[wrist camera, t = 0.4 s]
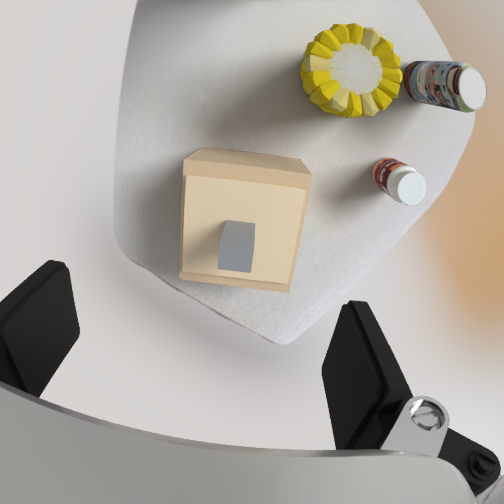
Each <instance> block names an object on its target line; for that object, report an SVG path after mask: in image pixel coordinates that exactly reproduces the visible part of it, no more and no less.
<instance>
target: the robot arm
mask: <svg viewBox="0 0 504 504" xmlns="http://www.w3.org/2000/svg"><path fill="white" fill-rule="evenodd" d="M79 334H80V327H79V323H78V318H77V313H76V309H75V303H74V297H73V291H72V285H71V279H70V272H69V269H68V268H67V267H66V265H65V263H63V262H59V261H54V260H49V261H47V262H46V263H45V264H44V265H42V266H41V267H40V268H39V269H37V270H36V271H35V272H34V273H33V274H31V275H30V276H29V277H28V278H27V279H26V280H24V281H23V282H22V283H21V284H20V285H19V286H18V287H16V288H15V289H14V290H13V291H12V292H11V293H10V294H9V295H8V296H6V297H5V298H4V299H3V300H2V301H1V302H0V504H504V475H502V476H501V475H500V470H501V467H500V463H499V460H498V458H497V456H496V455H495V454H494V453H493V452H492V451H490V450H489V449H487V448H485V447H483V446H482V445H479V444H478V443H476V442H474V441H472V440H470V439H468V438H466V437H465V436H463V435H461V434H459V433H457V432H455V431H454V430H452V429H450V428H448V426H449V415H448V412H447V410H446V409H445V407H444V406H443V405H442V404H441V403H440V402H438V401H436V400H435V399H433V398H430V397H427V396H417V397H413V395H412V393H411V391H410V389H409V386H408V384H407V382H406V380H405V377H404V375H403V373H402V371H401V369H400V367H399V364H398V362H397V360H396V358H395V356H394V354H393V352H392V350H391V348H390V346H389V344H388V342H387V340H386V338H385V336H384V334H383V332H382V330H381V328H380V326H379V324H378V322H377V320H376V318H375V316H374V314H373V312H372V310H371V309H370V307H369V305H368V303H367V302H364V301H352V300H350V301H349V302H348V304H344V305H343V306H342V308H341V311H340V314H339V317H338V321H337V324H336V327H335V330H334V333H333V336H332V339H331V342H330V345H329V348H328V350H327V353H326V356H325V359H324V362H323V365H322V378H323V383H324V388H325V393H326V398H327V403H328V408H329V414H330V419H331V424H332V429H333V435H334V441H335V446H336V450H289V449H267V448H253V447H242V446H232V445H222V444H215V443H208V442H201V441H195V440H188V439H183V438H177V437H172V436H166V435H161V434H157V433H152V432H147V431H143V430H139V429H134V428H131V427H126V426H123V425H119V424H115V423H111V422H108V421H105V420H101V419H98V418H94V417H91V416H88V415H85V414H82V413H79V412H76V411H73V410H70V409H67V408H64V407H61V406H59V405H56V404H53V403H51V402H48V401H45V400H43V399H40V398H39V397H40V395H41V394H42V392H43V390H44V389H45V387H46V386H47V384H48V383H49V381H50V379H51V378H52V376H53V375H54V373H55V372H56V370H57V369H58V367H59V365H60V364H61V363H62V361H63V360H64V358H65V357H66V355H67V354H68V352H69V351H70V349H71V348H72V346H73V345H74V344H75V342H76V341H77V339H78V337H79Z"/></svg>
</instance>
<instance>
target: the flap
mask: <svg viewBox="0 0 504 504" xmlns="http://www.w3.org/2000/svg"><path fill="white" fill-rule="evenodd" d="M304 195H305V188H298V187H291V186H284V185H277V184H270V183H262V182H254V181H246V180H237V179H228V178H219V177H209V176H199V175H188V174H187V175H186V187H185V206H184V229H183V266H182V271H185V272H193V273H200V274H208V275H216V276H224V277H232V278H241V279H249V280H257V281H266V282H275V283H284V284H288V279H289V274H290V269H291V264H292V259H293V254H294V249H295V244H296V239H297V234H298V228H299V223H300V218H301V212H302V207H303V201H304Z"/></svg>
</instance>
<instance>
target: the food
mask: <svg viewBox="0 0 504 504" xmlns="http://www.w3.org/2000/svg"><path fill="white" fill-rule="evenodd" d="M381 35H382V34H381V33H379V32H378V31H377V30H375V29H374V28H363V27H361V26H359V25H357V24H356V23H353V24H348V25H343V24H334V25H333V26H332V27H331V28H330V30H327V31H322V32H321V33H319V34H318V35H317V36H315V39H314V41H313V42H310V43H308V46H307V49H306V51H305V53H304V57H303V59H304V60H303V63H302V65H301V66H302V68H301V72H300V74H301V79H302V81H303V84H302V86H303V89H304V91H305V92H306V94H307V95H310V97H309V99H310V102H312V103H314V104H315V105H318V106H319V108H321V109H322V110H323V111H324V112H327V113H333V114H335V115H336V116H342V117H346V118H348V117H351V118H352V117H355V118H356V117H361V116H363V117H373V116H374V115H375V114H376V113H377V112H378V111H379V110H382V111H384V110H385V109H386V108H387V107H388V106H389V104H390V103H391V102H392V98H394V99H397V96H398V92H399V88H400V85H399V84H400V83H401V81H402V71H401V70H400V69H399V66H400V58H399V57H398V56H397V55H396V54H395V53H394V52H393V44H392V43H390V42H389V41H387V40H386V39H384V38H383V37H381Z"/></svg>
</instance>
